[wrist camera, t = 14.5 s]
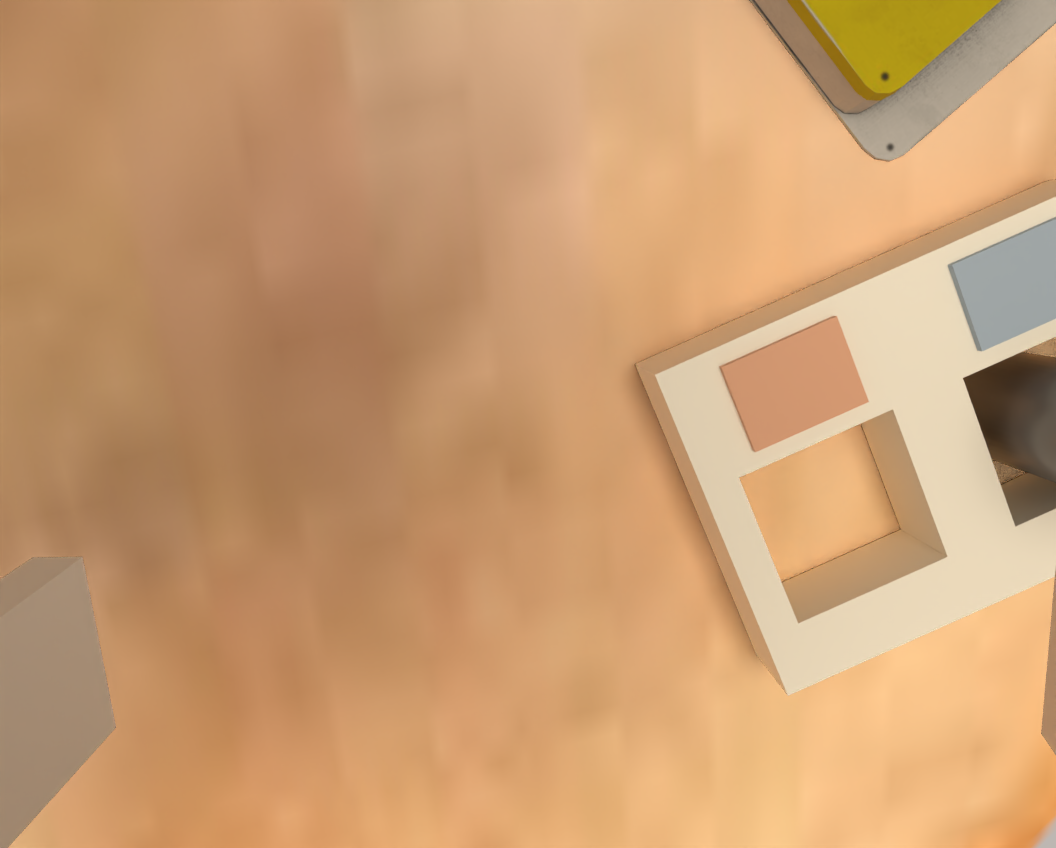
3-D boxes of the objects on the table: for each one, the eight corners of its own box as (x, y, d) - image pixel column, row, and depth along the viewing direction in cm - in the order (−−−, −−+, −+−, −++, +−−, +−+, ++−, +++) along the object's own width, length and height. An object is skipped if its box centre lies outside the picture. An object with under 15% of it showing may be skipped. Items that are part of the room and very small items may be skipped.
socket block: (634, 364, 35) (657, 375, 31) (1047, 180, 35) (1119, 170, 31) (756, 655, 37) (790, 699, 33) (1145, 482, 37) (1224, 506, 33)
